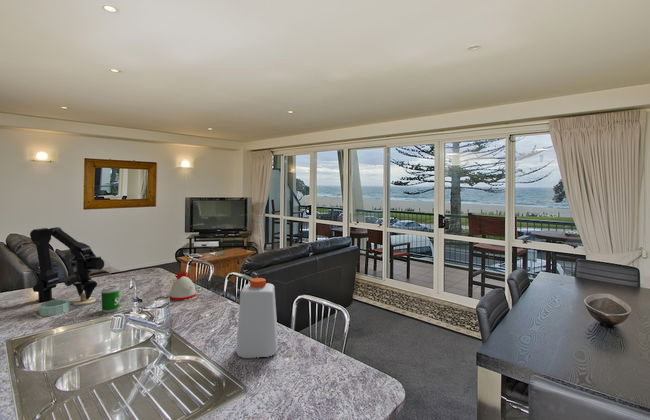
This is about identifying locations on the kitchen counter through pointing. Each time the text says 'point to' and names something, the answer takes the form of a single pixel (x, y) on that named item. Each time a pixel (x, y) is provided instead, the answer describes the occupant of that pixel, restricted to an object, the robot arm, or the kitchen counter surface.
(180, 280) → the kitchen timer
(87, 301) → the lid
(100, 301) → the mat
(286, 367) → the kitchen counter surface
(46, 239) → the robot arm
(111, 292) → the soda can
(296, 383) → the kitchen counter surface
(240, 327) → the plastic bottle
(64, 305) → the bowl
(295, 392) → the kitchen counter surface
